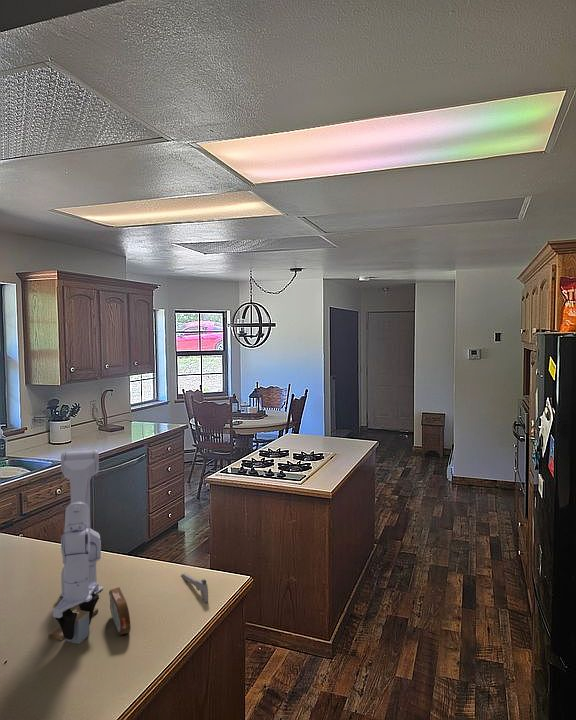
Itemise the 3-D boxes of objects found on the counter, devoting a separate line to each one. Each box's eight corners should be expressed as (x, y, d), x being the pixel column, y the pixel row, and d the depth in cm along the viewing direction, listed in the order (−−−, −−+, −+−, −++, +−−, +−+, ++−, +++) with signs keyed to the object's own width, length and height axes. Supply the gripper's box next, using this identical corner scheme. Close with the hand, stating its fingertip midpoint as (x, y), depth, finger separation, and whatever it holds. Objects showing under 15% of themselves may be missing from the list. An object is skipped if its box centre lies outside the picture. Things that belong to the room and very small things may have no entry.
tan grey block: (65, 641, 130) (64, 617, 129) (76, 632, 134) (75, 609, 133) (78, 643, 128) (78, 619, 128) (89, 634, 132) (89, 611, 132)
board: (49, 637, 131) (48, 633, 131) (85, 609, 144) (85, 606, 144) (62, 640, 130) (62, 635, 130) (98, 612, 143) (98, 608, 143)
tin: (131, 638, 131) (131, 605, 130) (118, 642, 129) (118, 608, 129) (119, 611, 144) (119, 581, 143) (107, 614, 142) (107, 584, 142)
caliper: (208, 603, 148) (208, 581, 148) (204, 604, 148) (204, 582, 148) (183, 575, 166) (183, 556, 166) (180, 576, 165) (180, 557, 165)
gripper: (69, 594, 122) (70, 650, 123) (108, 568, 136) (108, 619, 137) (45, 589, 124) (46, 645, 125) (85, 564, 138) (86, 614, 139)
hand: (77, 631), depth 131 cm, fingers open, 6 cm apart
